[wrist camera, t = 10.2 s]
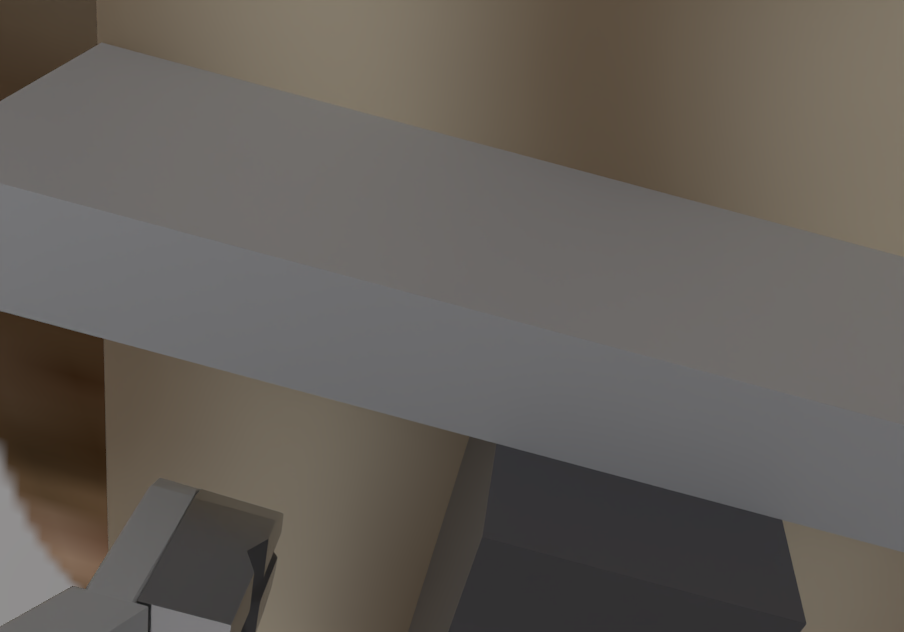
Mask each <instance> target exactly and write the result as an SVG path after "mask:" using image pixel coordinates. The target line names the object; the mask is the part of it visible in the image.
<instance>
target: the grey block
mask: <svg viewBox="0 0 904 632" xmlns="http://www.w3.org/2000/svg"><path fill="white" fill-rule="evenodd" d="M0 311H2V312H6V313H10V314H14V315H17V316H21V317H25V318H29V319H32V320H36V321H40V322H44V323H47V324H51V325H55V326H58V327H62V328H66V329H70V330H73V331H77V332H81V333H85V334H88V335H92V336H96V337H100V338H103V339H107V340H111V341H115V342H118V343H122V344H126V345H130V346H133V347H137V348H141V349H145V350H148V351H152V352H156V353H160V354H163V355H167V356H171V357H174V358H178V359H182V360H186V361H189V362H193V363H197V364H201V365H204V366H208V367H212V368H216V369H219V370H223V371H227V372H231V373H234V374H238V375H242V376H246V377H249V378H253V379H257V380H261V381H264V382H268V383H272V384H276V385H279V386H283V387H287V388H290V389H294V390H298V391H302V392H305V393H309V394H313V395H317V396H320V397H324V398H328V399H332V400H335V401H339V402H343V403H347V404H350V405H354V406H358V407H362V408H365V409H369V410H373V411H377V412H380V413H384V414H388V415H392V416H395V417H399V418H403V419H406V420H410V421H414V422H418V423H421V424H425V425H429V426H433V427H436V428H440V429H444V430H448V431H451V432H455V433H459V434H463V435H466V436H470V437H469V440H468V443H467V446H466V449H465V452H464V456H463V459H462V462H461V465H460V468H459V472H458V475H457V478H456V481H455V484H454V488H453V491H452V494H451V497H450V500H449V504H448V507H447V510H446V513H445V516H444V519H443V523H442V526H441V529H440V532H439V535H438V539H437V542H436V545H435V548H434V551H433V555H432V558H431V561H430V564H429V567H428V570H427V574H426V577H425V580H424V583H423V586H422V590H421V593H420V596H419V599H418V602H417V606H416V609H415V612H414V615H413V618H412V622H411V625H410V628H409V631H408V632H801V630H802V629H803V628H804V626H805V625H806V619H805V615H804V611H803V607H802V602H801V598H800V594H799V590H798V585H797V581H796V577H795V573H794V568H793V564H792V560H791V556H790V551H789V547H788V543H787V538H786V534H785V530H784V526H783V521H782V520H784V521H788V522H792V523H796V524H799V525H803V526H807V527H811V528H814V529H818V530H822V531H826V532H829V533H833V534H837V535H841V536H844V537H848V538H852V539H856V540H859V541H863V542H867V543H870V544H874V545H878V546H882V547H885V548H889V549H893V550H897V551H900V552H904V257H902V256H898V255H894V254H890V253H887V252H883V251H879V250H876V249H872V248H868V247H864V246H861V245H857V244H853V243H849V242H846V241H842V240H838V239H834V238H831V237H827V236H823V235H819V234H816V233H812V232H808V231H804V230H801V229H797V228H793V227H790V226H786V225H782V224H778V223H775V222H771V221H767V220H763V219H760V218H756V217H752V216H748V215H745V214H741V213H737V212H733V211H730V210H726V209H722V208H718V207H715V206H711V205H707V204H704V203H700V202H696V201H692V200H689V199H685V198H681V197H677V196H674V195H670V194H666V193H662V192H659V191H655V190H651V189H647V188H644V187H640V186H636V185H632V184H629V183H625V182H621V181H617V180H614V179H610V178H606V177H603V176H599V175H595V174H591V173H588V172H584V171H580V170H576V169H573V168H569V167H565V166H561V165H558V164H554V163H550V162H546V161H543V160H539V159H535V158H531V157H528V156H524V155H520V154H517V153H513V152H509V151H505V150H502V149H498V148H494V147H490V146H487V145H483V144H479V143H475V142H472V141H468V140H464V139H460V138H457V137H453V136H449V135H445V134H442V133H438V132H434V131H431V130H427V129H423V128H419V127H416V126H412V125H408V124H404V123H401V122H397V121H393V120H389V119H386V118H382V117H378V116H374V115H371V114H367V113H363V112H359V111H356V110H352V109H348V108H344V107H341V106H337V105H333V104H330V103H326V102H322V101H318V100H315V99H311V98H307V97H303V96H300V95H296V94H292V93H288V92H285V91H281V90H277V89H273V88H270V87H266V86H262V85H258V84H255V83H251V82H247V81H244V80H240V79H236V78H232V77H229V76H225V75H221V74H217V73H214V72H210V71H206V70H202V69H199V68H195V67H191V66H187V65H184V64H180V63H176V62H172V61H169V60H165V59H161V58H158V57H154V56H150V55H146V54H143V53H139V52H135V51H131V50H128V49H124V48H120V47H116V46H113V45H109V44H105V43H100V44H98V45H96V46H95V47H93V48H91V49H90V50H88V51H86V52H84V53H83V54H81V55H79V56H77V57H76V58H74V59H72V60H70V61H69V62H67V63H65V64H64V65H62V66H60V67H58V68H57V69H55V70H53V71H51V72H50V73H48V74H46V75H45V76H43V77H41V78H39V79H38V80H36V81H34V82H32V83H31V84H29V85H27V86H26V87H24V88H22V89H20V90H19V91H17V92H15V93H13V94H12V95H10V96H8V97H6V98H5V99H3V100H1V101H0Z"/></svg>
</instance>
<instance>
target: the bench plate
mask: <svg viewBox="0 0 904 632" xmlns="http://www.w3.org/2000/svg"><path fill="white" fill-rule="evenodd" d="M96 16H97V45H98V44H100V43H105V44H109V45H113V46H116V47H120V48H124V49H128V50H131V51H135V52H139V53H143V54H146V55H150V56H154V57H158V58H161V59H165V60H169V61H172V62H176V63H180V64H184V65H187V66H191V67H195V68H199V69H202V70H206V71H210V72H214V73H217V74H221V75H225V76H229V77H232V78H236V79H240V80H244V81H247V82H251V83H255V84H258V85H262V86H266V87H270V88H273V89H277V90H281V91H285V92H288V93H292V94H296V95H300V96H303V97H307V98H311V99H315V100H318V101H322V102H326V103H330V104H333V105H337V106H341V107H344V108H348V109H352V110H356V111H359V112H363V113H367V114H371V115H374V116H378V117H382V118H386V119H389V120H393V121H397V122H401V123H404V124H408V125H412V126H416V127H419V128H423V129H427V130H431V131H434V132H438V133H442V134H445V135H449V136H453V137H457V138H460V139H464V140H468V141H472V142H475V143H479V144H483V145H487V146H490V147H494V148H498V149H502V150H505V151H509V152H513V153H517V154H520V155H524V156H528V157H531V158H535V159H539V160H543V161H546V162H550V163H554V164H558V165H561V166H565V167H569V168H573V169H576V170H580V171H584V172H588V173H591V174H595V175H599V176H603V177H606V178H610V179H614V180H617V181H621V182H625V183H629V184H632V185H636V186H640V187H644V188H647V189H651V190H655V191H659V192H662V193H666V194H670V195H674V196H677V197H681V198H685V199H689V200H692V201H696V202H700V203H704V204H707V205H711V206H715V207H718V208H722V209H726V210H730V211H733V212H737V213H741V214H745V215H748V216H752V217H756V218H760V219H763V220H767V221H771V222H775V223H778V224H782V225H786V226H790V227H793V228H797V229H801V230H804V231H808V232H812V233H816V234H819V235H823V236H827V237H831V238H834V239H838V240H842V241H846V242H849V243H853V244H857V245H861V246H864V247H868V248H872V249H876V250H879V251H883V252H887V253H890V254H894V255H898V256H902V257H904V0H96ZM104 378H105V423H106V468H107V513H108V552H109V551H110V549H111V547H112V546H113V544H114V542H115V541H116V539H117V538H118V536H119V534H120V533H121V531H122V530H123V528H124V526H125V525H126V523H127V522H128V520H129V518H130V517H131V515H132V514H133V512H134V510H135V509H136V507H137V506H138V504H139V502H140V501H141V499H142V498H143V496H144V494H145V493H146V491H147V489H148V488H149V487H150V486H151V485H152V484H153V483H154V482H155V481H156V480H158V479H159V478H164V479H167V480H171V481H174V482H178V483H181V484H185V485H188V486H192V487H195V488H199V489H203V490H207V491H210V492H213V493H217V494H220V495H224V496H227V497H230V498H234V499H237V500H240V501H244V502H247V503H251V504H254V505H257V506H261V507H264V508H267V509H271V510H274V511H278V512H281V513H283V514H284V515H283V524H282V532H281V535H280V538H279V540H278V543H277V545H276V547H275V550H274V553H275V554H276V556H277V557H278V558H277V564H276V570H275V575H274V579H273V583H272V587H271V591H270V594H269V597H268V600H267V603H266V606H265V609H264V613H263V615H262V618H261V620H260V623H259V626H258V628H257V631H256V632H408V631H409V628H410V625H411V622H412V618H413V615H414V612H415V609H416V606H417V602H418V599H419V596H420V593H421V590H422V586H423V583H424V580H425V577H426V574H427V570H428V567H429V564H430V561H431V558H432V555H433V551H434V548H435V545H436V542H437V539H438V535H439V532H440V529H441V526H442V523H443V519H444V516H445V513H446V510H447V507H448V504H449V500H450V497H451V494H452V491H453V488H454V484H455V481H456V478H457V475H458V472H459V468H460V465H461V462H462V459H463V456H464V452H465V449H466V446H467V443H468V440H469V437H470V436H466V435H463V434H459V433H455V432H451V431H448V430H444V429H440V428H436V427H433V426H429V425H425V424H421V423H418V422H414V421H410V420H406V419H403V418H399V417H395V416H392V415H388V414H384V413H380V412H377V411H373V410H369V409H365V408H362V407H358V406H354V405H350V404H347V403H343V402H339V401H335V400H332V399H328V398H324V397H320V396H317V395H313V394H309V393H305V392H302V391H298V390H294V389H290V388H287V387H283V386H279V385H276V384H272V383H268V382H264V381H261V380H257V379H253V378H249V377H246V376H242V375H238V374H234V373H231V372H227V371H223V370H219V369H216V368H212V367H208V366H204V365H201V364H197V363H193V362H189V361H186V360H182V359H178V358H174V357H171V356H167V355H163V354H160V353H156V352H152V351H148V350H145V349H141V348H137V347H133V346H130V345H126V344H122V343H118V342H115V341H111V340H107V339H104ZM782 521H783V526H784V530H785V534H786V538H787V543H788V547H789V551H790V556H791V560H792V564H793V568H794V573H795V577H796V581H797V585H798V590H799V594H800V598H801V602H802V607H803V611H804V615H805V619H806V625H805V626H804V628H803V629H802V630H801V632H904V552H900V551H897V550H893V549H889V548H885V547H882V546H878V545H874V544H870V543H867V542H863V541H859V540H856V539H852V538H848V537H844V536H841V535H837V534H833V533H829V532H826V531H822V530H818V529H814V528H811V527H807V526H803V525H799V524H796V523H792V522H788V521H784V520H782Z"/></svg>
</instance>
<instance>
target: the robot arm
mask: <svg viewBox="0 0 904 632" xmlns="http://www.w3.org/2000/svg"><path fill="white" fill-rule="evenodd" d="M283 515H284V514H283V513H281V512H278V511H274V510H271V509H267V508H264V507H261V506H257V505H254V504H251V503H247V502H244V501H240V500H237V499H234V498H230V497H227V496H224V495H220V494H217V493H213V492H210V491H207V490H203V489H199V488H195V487H192V486H188V485H185V484H181V483H178V482H174V481H171V480H167V479H164V478H159V479H158V480H156V481H155V482H154V483H153V484H152V485H151V486H150V487H149V488H148V489H147V491H146V493H145V494H144V496H143V498H142V499H141V501H140V502H139V504H138V506H137V507H136V509H135V510H134V512H133V514H132V515H131V517H130V518H129V520H128V522H127V523H126V525H125V526H124V528H123V530H122V531H121V533H120V534H119V536H118V538H117V539H116V541H115V542H114V544H113V546H112V547H111V549H110V551H109V552H108V554H107V555H106V557H105V559H104V560H103V562H102V563H101V565H100V567H99V568H98V570H97V571H96V573H95V575H94V576H93V578H92V579H91V581H90V583H89V584H88V586H87V587H86V589H84V588H79V587H75V586H72V587H70V588H68V589H66V590H65V591H63V592H61V593H59V594H58V595H56V596H54V597H52V598H50V599H48V600H47V601H45V602H43V603H42V604H40V605H38V606H36V607H34V608H32V609H31V610H29V611H27V612H25V613H24V614H22V615H20V616H19V617H17V618H15V619H13V620H11V621H9V622H7V623H6V624H4V625H2V626H1V627H0V632H256V631H257V628H258V626H259V623H260V620H261V618H262V615H263V613H264V609H265V606H266V603H267V600H268V597H269V594H270V591H271V587H272V583H273V579H274V575H275V570H276V564H277V558H278V557H277V556H276V554H275V553H274V550H275V547H276V545H277V543H278V540H279V538H280V535H281V532H282V524H283Z"/></svg>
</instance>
